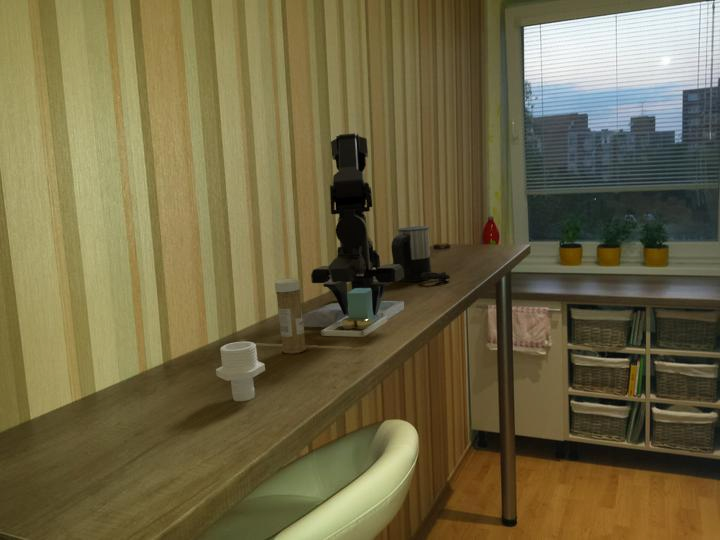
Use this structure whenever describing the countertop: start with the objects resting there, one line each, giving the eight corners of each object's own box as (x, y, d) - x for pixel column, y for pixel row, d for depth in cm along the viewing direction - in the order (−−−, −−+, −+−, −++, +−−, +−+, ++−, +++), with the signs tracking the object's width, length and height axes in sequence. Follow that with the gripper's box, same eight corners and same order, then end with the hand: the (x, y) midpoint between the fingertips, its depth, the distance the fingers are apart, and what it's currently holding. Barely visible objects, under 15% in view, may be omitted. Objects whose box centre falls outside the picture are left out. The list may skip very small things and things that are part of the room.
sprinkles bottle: (310, 350, 120) (303, 279, 118) (287, 356, 118) (279, 283, 116) (300, 346, 124) (293, 276, 122) (278, 350, 122) (270, 280, 120)
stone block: (297, 338, 139) (338, 329, 134) (291, 316, 138) (332, 307, 134) (322, 326, 149) (361, 318, 145) (317, 306, 149) (355, 297, 145)
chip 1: (346, 325, 136) (345, 317, 136) (359, 326, 135) (358, 317, 135) (340, 329, 133) (339, 321, 133) (354, 329, 132) (353, 321, 132)
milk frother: (406, 276, 193) (402, 226, 191) (458, 275, 187) (455, 223, 184) (390, 285, 180) (386, 232, 178) (446, 285, 174) (442, 229, 171)
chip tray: (347, 322, 140) (347, 316, 140) (387, 323, 137) (386, 316, 136) (321, 337, 129) (320, 330, 129) (363, 339, 125) (363, 331, 125)
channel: (371, 309, 151) (370, 301, 150) (404, 310, 147) (403, 301, 147) (349, 322, 140) (348, 313, 140) (384, 323, 137) (383, 313, 136)
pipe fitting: (234, 409, 93) (228, 355, 92) (214, 397, 99) (208, 346, 98) (274, 397, 97) (268, 345, 95) (252, 386, 102) (246, 337, 101)
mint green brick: (350, 325, 136) (346, 293, 134) (358, 319, 140) (355, 288, 138) (369, 326, 134) (365, 293, 133) (376, 320, 138) (373, 288, 136)
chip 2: (358, 326, 135) (357, 318, 134) (372, 326, 134) (372, 317, 134) (355, 330, 132) (354, 321, 131) (370, 329, 131) (369, 321, 131)
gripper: (294, 247, 130) (302, 323, 132) (381, 244, 122) (387, 325, 124) (320, 239, 140) (327, 310, 142) (402, 236, 132) (407, 311, 134)
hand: (360, 314), depth 135 cm, fingers open, 6 cm apart
